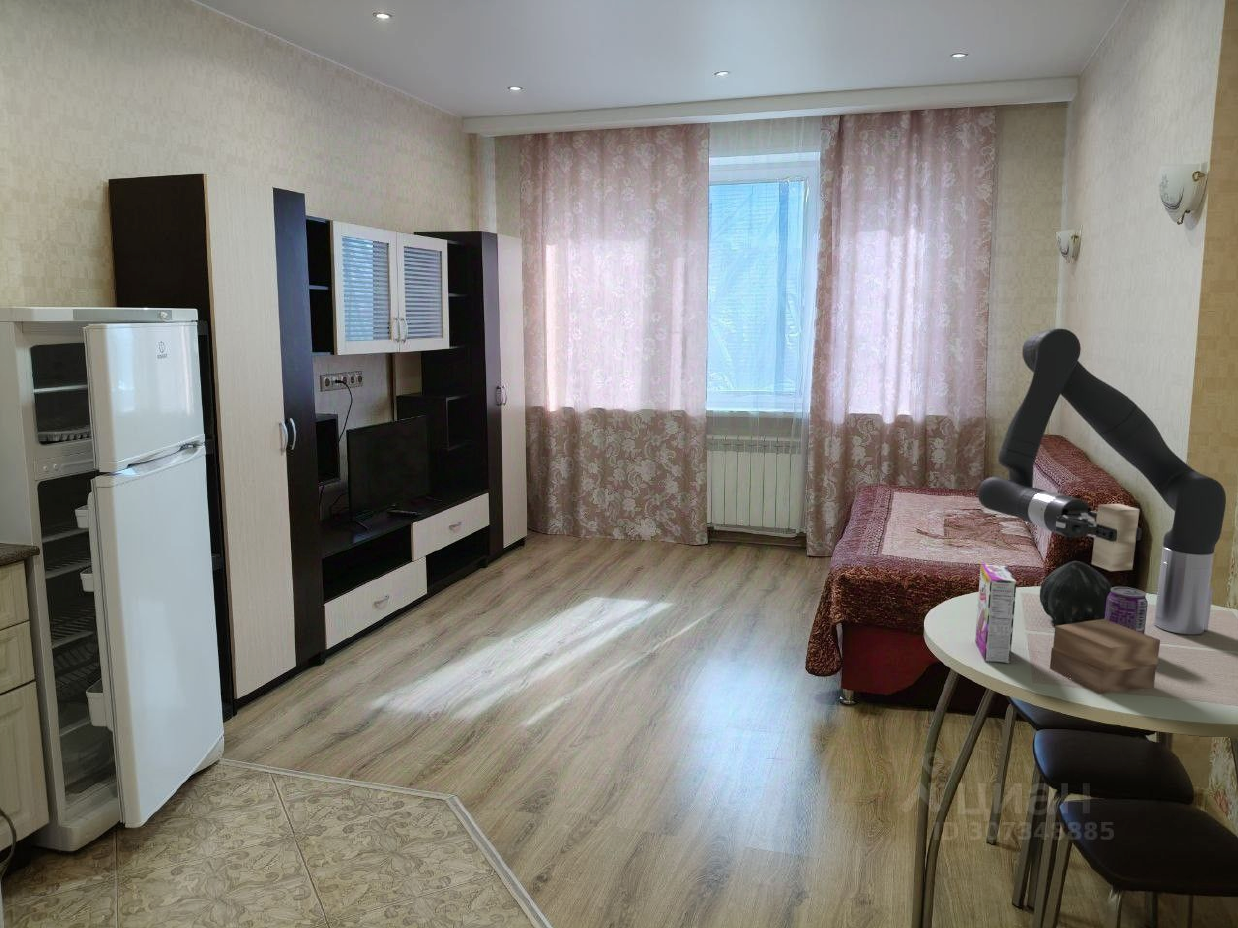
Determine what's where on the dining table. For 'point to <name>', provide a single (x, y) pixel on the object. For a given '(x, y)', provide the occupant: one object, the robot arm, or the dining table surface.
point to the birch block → (1122, 549)
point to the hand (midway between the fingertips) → (1127, 535)
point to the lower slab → (1102, 675)
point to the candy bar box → (995, 613)
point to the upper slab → (1106, 645)
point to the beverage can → (1127, 608)
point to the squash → (1075, 594)
